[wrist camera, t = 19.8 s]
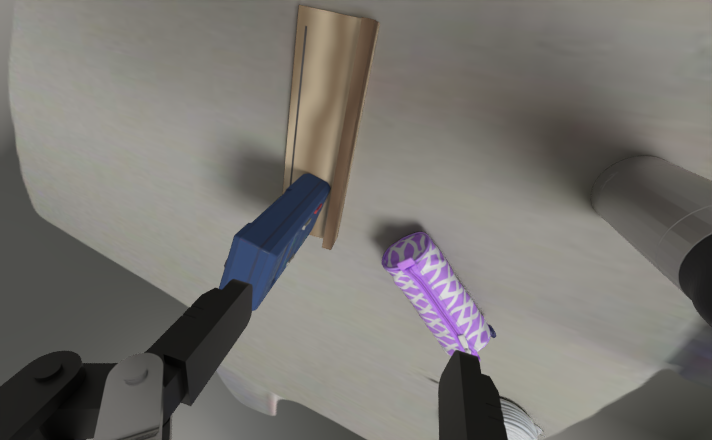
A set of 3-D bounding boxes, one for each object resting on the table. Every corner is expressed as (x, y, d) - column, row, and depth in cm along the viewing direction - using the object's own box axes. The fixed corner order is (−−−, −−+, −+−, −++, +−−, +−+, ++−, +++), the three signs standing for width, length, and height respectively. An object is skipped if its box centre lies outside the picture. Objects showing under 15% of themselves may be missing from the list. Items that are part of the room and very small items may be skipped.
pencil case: (492, 315, 54) (503, 361, 46) (444, 331, 58) (446, 375, 50) (426, 218, 49) (425, 250, 40) (378, 243, 53) (368, 277, 44)
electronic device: (313, 231, 52) (254, 316, 35) (286, 217, 52) (213, 295, 35) (334, 185, 48) (278, 257, 30) (304, 169, 47) (231, 233, 30)
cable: (549, 434, 65) (559, 467, 60) (473, 448, 73) (476, 478, 68) (505, 382, 61) (512, 413, 56) (430, 403, 69) (430, 432, 64)
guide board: (380, 23, 38) (374, 19, 34) (337, 237, 54) (330, 249, 50) (303, 6, 39) (290, 1, 35) (283, 221, 55) (273, 232, 51)
